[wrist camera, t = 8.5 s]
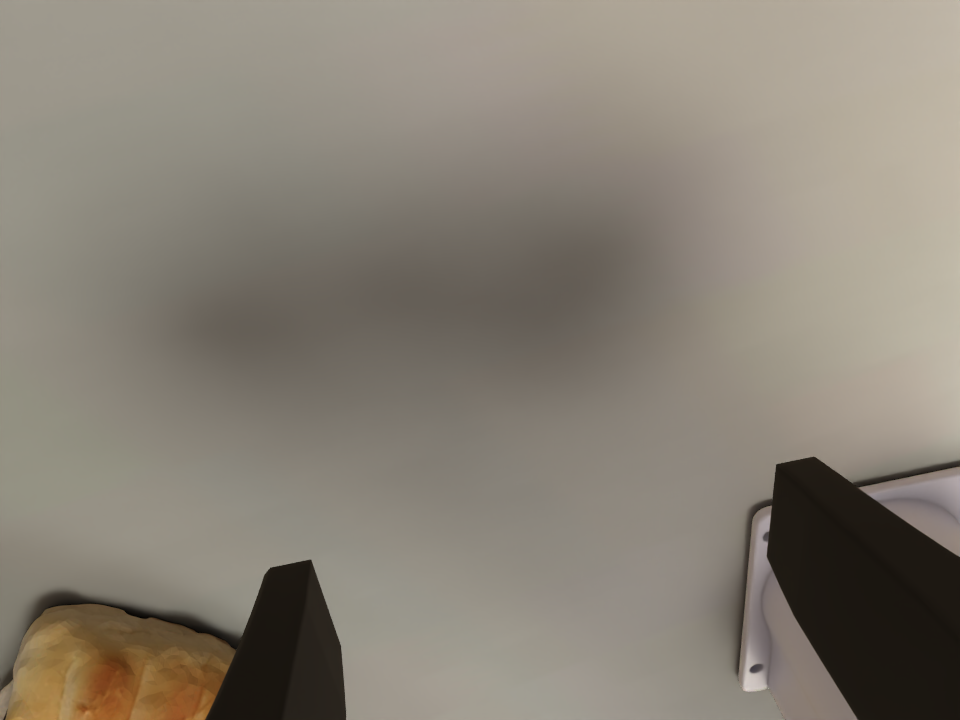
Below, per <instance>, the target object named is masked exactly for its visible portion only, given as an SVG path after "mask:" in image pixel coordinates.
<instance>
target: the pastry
mask: <svg viewBox="0 0 960 720" xmlns="http://www.w3.org/2000/svg"><path fill="white" fill-rule="evenodd" d="M235 653H236V650H235V649H234V648H232V647H230V645H229V644H228V643H227V642H226V641H225V640H221V639H219V638H217V637H215V636H212V635H210V634H207V633H196V632H195V631H194V630H192V629H189V628H187V627H184V626H182V625H179V624H175V623H170V622H165V621H162V620H159V619H156V618H152V617H150V618H148V619H141V618H138V617H134V616H131V615H128V614H126V612H125V611H124V610H121V609H117V608H113V607H109V606H105V605H99V604H81V605H63V606H56V607H52V608H49V609H46V610H45V611H44V612H43V613H42V615H41V616H40V617H39V618H37V619H36V620H35V621H34V622H33V623H32V625H31V626H30V628H29V629H28V631H27V632H26V634H25V636H24V638H23V640H22V643H21V647H20V650H19V653H18V657H17V659H16V661H15V664H14V668H13V680H12V681H11V682H10V683H9V684H8V685H7V686H5V687H4V688H3V689H2V691H1V692H0V720H205V719H206V717H207V715H208V713H209V711H210V708H211V706H212V704H213V702H214V700H215V698H216V696H217V693H218V691H219V689H220V686H221V684H222V682H223V680H224V677H225V675H226V673H227V671H228V668H229V666H230V664H231V662H232V659H233V657H234V655H235Z"/></svg>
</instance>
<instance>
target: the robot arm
mask: <svg viewBox="0 0 960 720" xmlns="http://www.w3.org/2000/svg"><path fill="white" fill-rule="evenodd" d="M768 531H769V532H768ZM738 681H739V684H740V686H741V688H742V689H743V690H744V691H747V692H755V691H759V690H764V689H768V688H769V690H770V692H771V694H772V696H773V698H774V700H775V702H776V704H777V706H778V708H779V710H780V711H781V713H782V715H783V717H784V719H785V720H960V467H955V468H950V469H945V470H940V471H936V472H931V473H926V474H921V475H916V476H911V477H907V478H902V479H897V480H892V481H887V482H883V483H878V484H873V485H868V486H863V487H856V486H855V485H854V484H852V483H851V482H849V481H848V480H847V479H845V478H844V477H842V476H841V475H840V474H838V473H837V472H835V471H834V470H833V469H831V468H830V467H828V466H827V465H826V464H824V463H823V462H821V461H820V460H818V459H817V458H816V457H810V458H805V459H800V460H795V461H790V462H786V463H781V464H776V472H775V481H774V490H773V500H772V506H767V507H764V508H762V509H760V510H759V511H758V512H757V513H756V514H755V515H754V517H753V520H752V530H751V542H750V553H749V564H748V575H747V586H746V597H745V609H744V620H743V631H742V642H741V653H740V665H739V676H738ZM205 720H346V706H345V692H344V678H343V666H342V654H341V645H340V642H339V639H338V636H337V634H336V631H335V628H334V625H333V622H332V619H331V616H330V613H329V610H328V607H327V605H326V602H325V599H324V596H323V593H322V590H321V587H320V584H319V581H318V578H317V576H316V573H315V570H314V567H313V564H312V561H311V560H306V561H301V562H296V563H291V564H287V565H282V566H277V567H272V568H270V569H269V570H268V571H267V572H266V574H265V575H264V578H263V581H262V584H261V587H260V590H259V593H258V596H257V599H256V601H255V604H254V607H253V610H252V612H251V615H250V618H249V620H248V623H247V625H246V628H245V630H244V633H243V635H242V638H241V640H240V643H239V645H238V648H237V650H236V653H235V655H234V657H233V659H232V662H231V664H230V666H229V668H228V671H227V673H226V675H225V677H224V680H223V682H222V684H221V686H220V689H219V691H218V693H217V696H216V698H215V700H214V702H213V704H212V706H211V708H210V711H209V713H208V715H207V717H206V719H205Z"/></svg>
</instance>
